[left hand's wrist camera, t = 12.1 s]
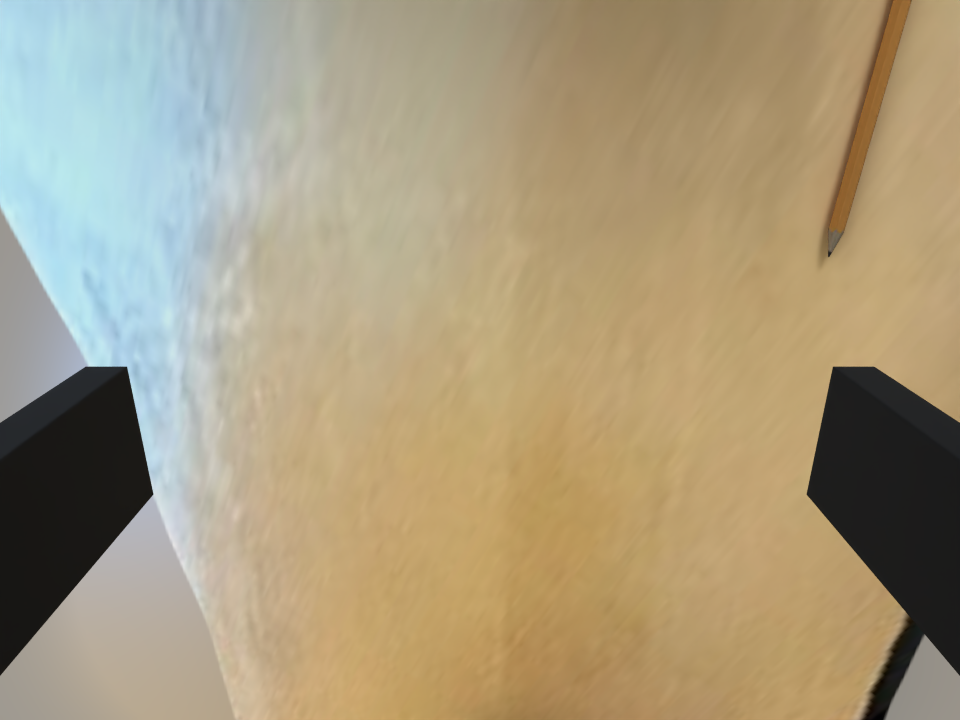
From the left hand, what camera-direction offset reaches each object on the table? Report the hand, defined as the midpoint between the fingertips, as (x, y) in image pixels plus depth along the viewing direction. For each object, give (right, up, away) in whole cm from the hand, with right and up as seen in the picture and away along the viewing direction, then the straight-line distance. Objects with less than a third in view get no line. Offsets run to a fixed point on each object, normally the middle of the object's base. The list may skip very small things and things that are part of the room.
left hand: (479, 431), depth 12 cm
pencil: (+23, +17, +27) cm, 39 cm away
